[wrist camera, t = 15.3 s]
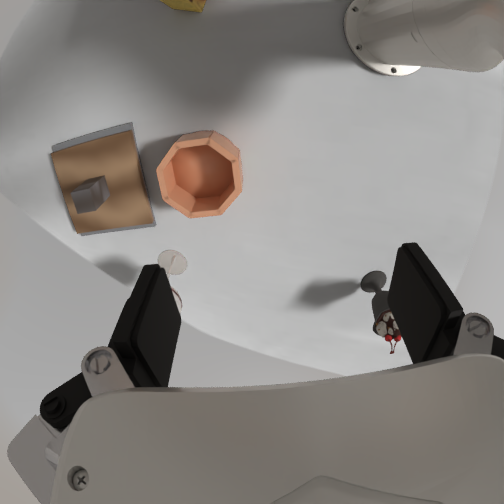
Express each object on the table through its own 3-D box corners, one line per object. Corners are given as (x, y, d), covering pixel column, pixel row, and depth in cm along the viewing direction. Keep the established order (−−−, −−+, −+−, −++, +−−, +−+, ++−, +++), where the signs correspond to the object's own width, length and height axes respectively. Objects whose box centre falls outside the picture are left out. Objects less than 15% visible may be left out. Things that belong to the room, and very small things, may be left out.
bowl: (163, 136, 37) (151, 146, 33) (237, 126, 37) (235, 134, 32) (176, 203, 43) (167, 220, 38) (245, 195, 42) (244, 212, 38)
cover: (54, 151, 36) (31, 165, 31) (132, 129, 36) (114, 139, 31) (79, 230, 44) (63, 250, 39) (154, 220, 43) (142, 241, 38)
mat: (54, 145, 36) (52, 146, 36) (132, 122, 36) (130, 123, 35) (82, 234, 45) (81, 236, 45) (156, 224, 44) (155, 226, 44)
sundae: (353, 296, 53) (375, 362, 40) (361, 267, 49) (389, 332, 36) (384, 295, 53) (412, 357, 40) (394, 266, 49) (428, 328, 36)
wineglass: (147, 268, 49) (126, 319, 39) (161, 238, 46) (138, 288, 36) (182, 284, 51) (169, 338, 41) (199, 256, 48) (187, 310, 38)
